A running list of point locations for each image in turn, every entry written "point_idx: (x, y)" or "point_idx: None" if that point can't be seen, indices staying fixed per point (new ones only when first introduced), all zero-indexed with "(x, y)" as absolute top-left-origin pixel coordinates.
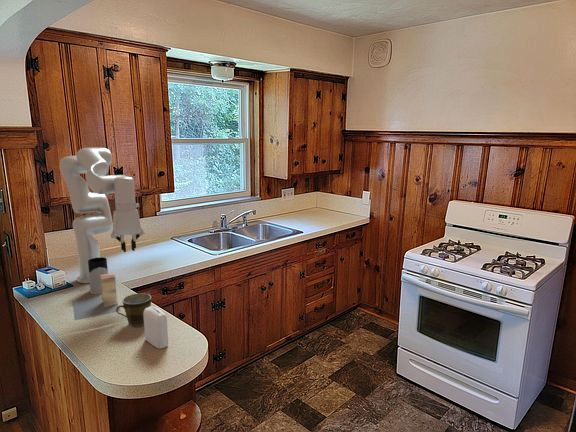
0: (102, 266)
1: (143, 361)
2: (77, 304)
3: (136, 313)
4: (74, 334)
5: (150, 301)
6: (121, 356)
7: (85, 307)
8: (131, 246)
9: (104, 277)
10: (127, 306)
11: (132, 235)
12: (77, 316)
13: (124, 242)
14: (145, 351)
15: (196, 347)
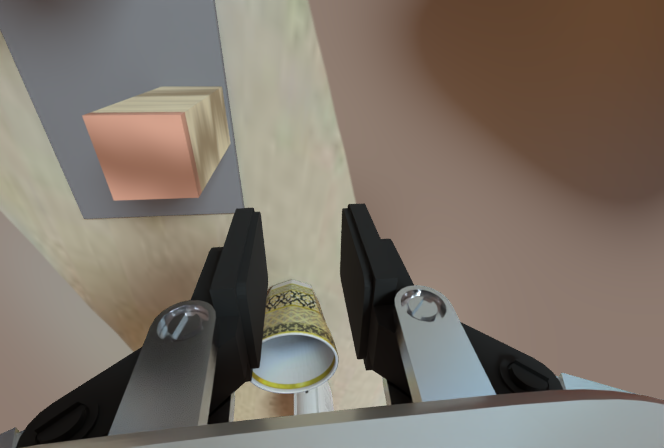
0: None
1: (279, 414)
2: (30, 47)
3: (283, 359)
4: (116, 294)
5: (329, 367)
6: (243, 396)
7: (89, 111)
8: (347, 226)
9: (129, 183)
10: (258, 377)
11: (422, 393)
12: (83, 192)
13: (246, 364)
14: (287, 394)
15: (373, 405)
